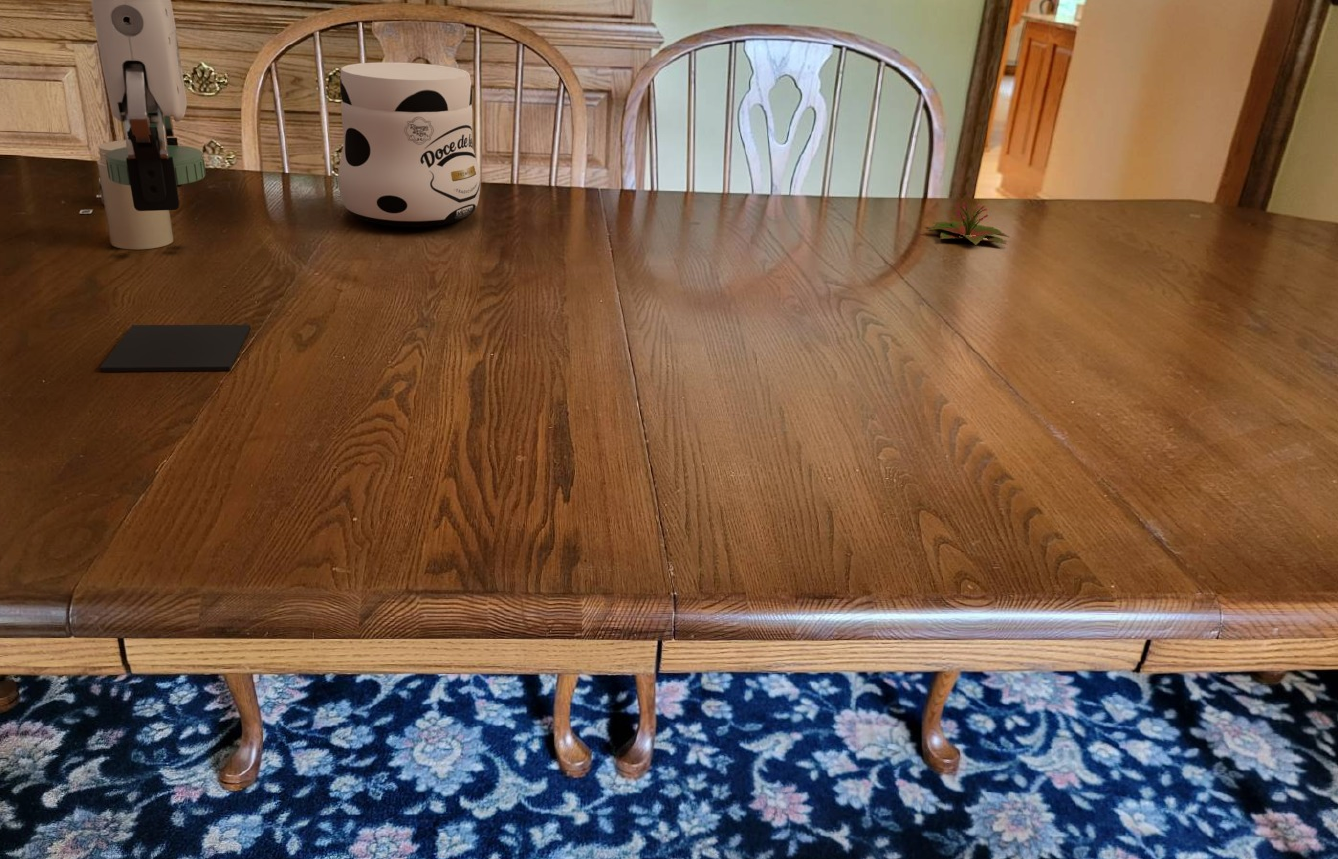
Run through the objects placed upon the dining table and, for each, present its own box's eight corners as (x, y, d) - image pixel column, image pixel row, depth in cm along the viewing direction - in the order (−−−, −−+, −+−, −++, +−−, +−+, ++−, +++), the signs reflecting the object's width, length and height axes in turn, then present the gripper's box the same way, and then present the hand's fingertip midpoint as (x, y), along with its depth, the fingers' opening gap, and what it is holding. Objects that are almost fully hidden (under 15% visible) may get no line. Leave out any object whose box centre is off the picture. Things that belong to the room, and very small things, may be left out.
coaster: (99, 372, 86) (99, 367, 85) (132, 328, 94) (132, 324, 94) (230, 370, 88) (229, 366, 87) (250, 328, 96) (250, 324, 96)
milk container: (484, 237, 128) (483, 84, 121) (336, 236, 125) (325, 78, 117) (477, 202, 144) (475, 64, 136) (345, 200, 140) (335, 58, 132)
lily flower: (1001, 230, 149) (1008, 197, 147) (1021, 253, 138) (1028, 218, 136) (916, 222, 149) (922, 190, 147) (929, 245, 139) (935, 211, 137)
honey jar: (103, 249, 115) (86, 150, 110) (119, 233, 120) (104, 138, 116) (166, 250, 116) (152, 152, 111) (179, 234, 121) (166, 140, 117)
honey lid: (213, 168, 88) (210, 145, 88) (195, 187, 82) (192, 162, 81) (123, 167, 87) (119, 143, 86) (97, 186, 81) (93, 161, 80)
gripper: (173, -33, 72) (208, 224, 79) (183, -46, 86) (212, 173, 94) (48, -38, 69) (97, 228, 77) (80, -50, 84) (118, 174, 91)
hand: (160, 195), depth 85 cm, fingers closed on honey lid, 7 cm apart
